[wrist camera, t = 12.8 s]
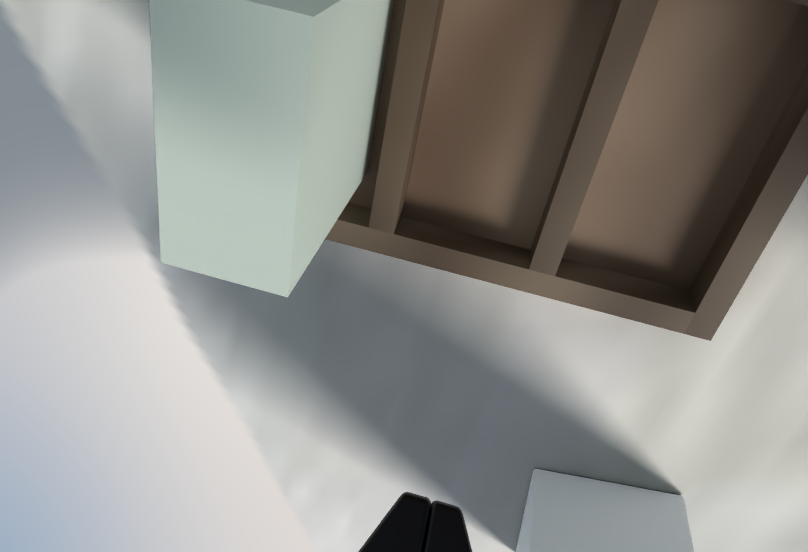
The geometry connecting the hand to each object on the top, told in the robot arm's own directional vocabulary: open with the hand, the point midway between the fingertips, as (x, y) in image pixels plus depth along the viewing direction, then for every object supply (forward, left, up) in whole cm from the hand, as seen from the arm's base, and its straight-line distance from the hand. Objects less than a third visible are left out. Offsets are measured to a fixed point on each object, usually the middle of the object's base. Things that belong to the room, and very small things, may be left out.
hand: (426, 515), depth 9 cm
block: (+5, -2, -12) cm, 13 cm away
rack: (0, -2, -13) cm, 13 cm away
